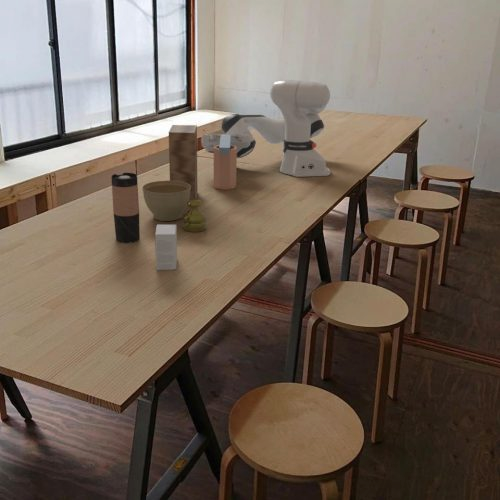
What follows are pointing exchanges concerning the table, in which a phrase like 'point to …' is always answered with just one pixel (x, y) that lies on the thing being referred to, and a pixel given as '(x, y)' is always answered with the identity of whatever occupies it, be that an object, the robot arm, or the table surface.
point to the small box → (166, 247)
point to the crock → (225, 169)
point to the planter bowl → (166, 199)
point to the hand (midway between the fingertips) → (225, 134)
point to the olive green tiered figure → (194, 217)
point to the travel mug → (126, 207)
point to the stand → (184, 156)
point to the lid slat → (224, 144)
